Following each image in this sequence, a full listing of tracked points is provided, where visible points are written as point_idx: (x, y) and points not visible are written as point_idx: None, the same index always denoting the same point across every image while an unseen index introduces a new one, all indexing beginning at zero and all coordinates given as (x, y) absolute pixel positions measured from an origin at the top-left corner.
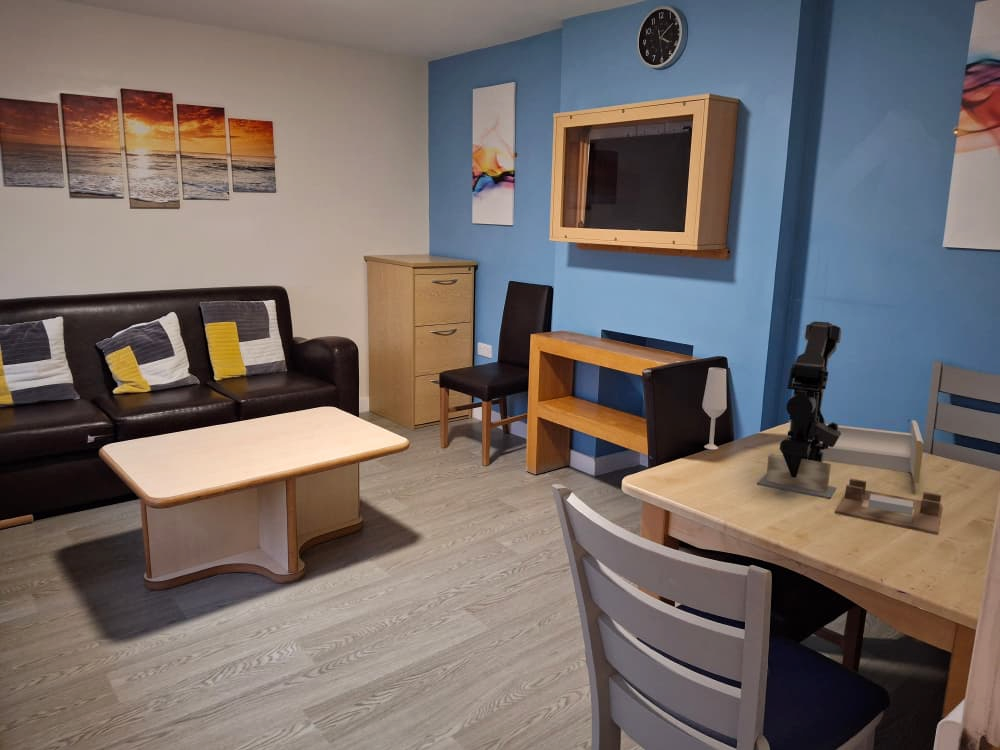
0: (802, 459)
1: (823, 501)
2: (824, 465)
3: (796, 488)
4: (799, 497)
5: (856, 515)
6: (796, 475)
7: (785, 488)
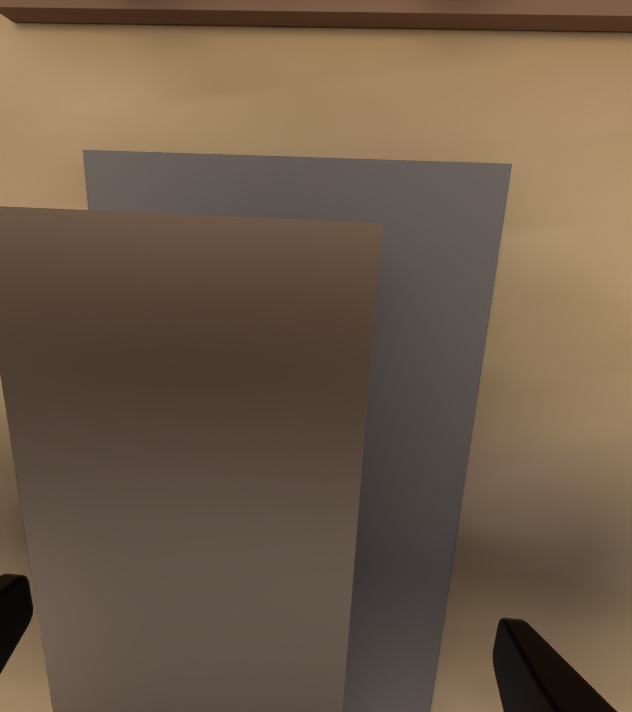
0: None
1: (627, 220)
2: (300, 356)
3: (391, 499)
4: (605, 442)
5: None
6: (548, 646)
7: (448, 577)
